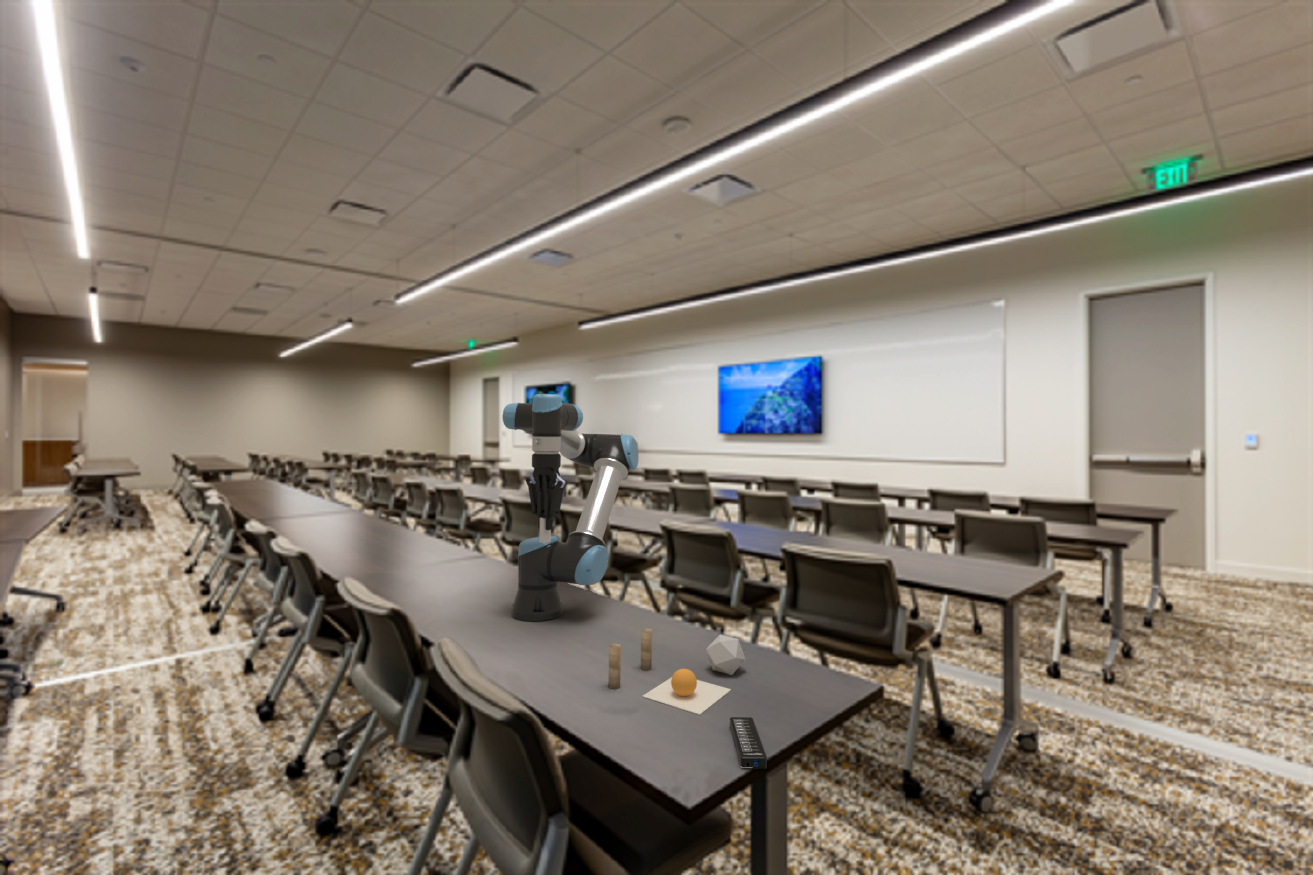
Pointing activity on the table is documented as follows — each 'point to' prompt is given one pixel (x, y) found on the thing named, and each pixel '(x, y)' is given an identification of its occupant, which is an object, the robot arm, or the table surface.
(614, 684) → the left post
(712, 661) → the die
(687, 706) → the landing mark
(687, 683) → the ball
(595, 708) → the table surface
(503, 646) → the table surface
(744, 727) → the multiport hub
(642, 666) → the right post
